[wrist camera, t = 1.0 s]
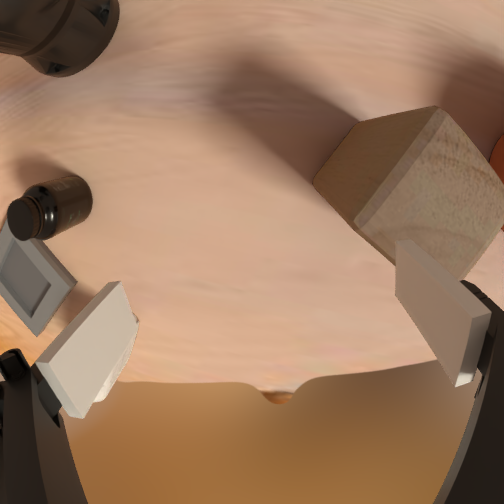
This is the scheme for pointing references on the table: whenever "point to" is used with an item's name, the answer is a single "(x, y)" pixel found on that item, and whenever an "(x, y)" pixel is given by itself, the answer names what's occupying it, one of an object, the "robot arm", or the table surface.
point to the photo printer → (117, 368)
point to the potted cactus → (498, 160)
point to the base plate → (32, 280)
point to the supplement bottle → (50, 208)
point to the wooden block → (416, 187)
